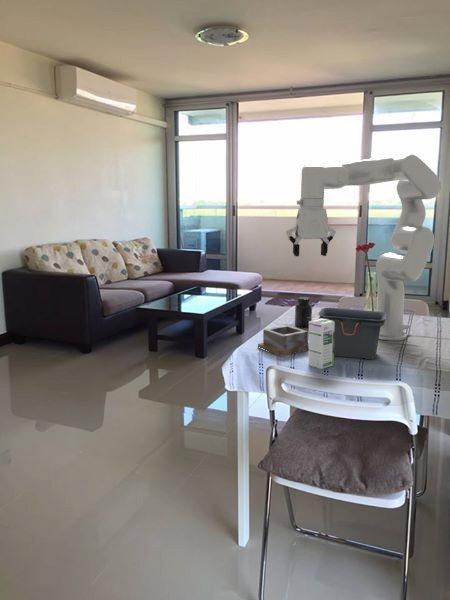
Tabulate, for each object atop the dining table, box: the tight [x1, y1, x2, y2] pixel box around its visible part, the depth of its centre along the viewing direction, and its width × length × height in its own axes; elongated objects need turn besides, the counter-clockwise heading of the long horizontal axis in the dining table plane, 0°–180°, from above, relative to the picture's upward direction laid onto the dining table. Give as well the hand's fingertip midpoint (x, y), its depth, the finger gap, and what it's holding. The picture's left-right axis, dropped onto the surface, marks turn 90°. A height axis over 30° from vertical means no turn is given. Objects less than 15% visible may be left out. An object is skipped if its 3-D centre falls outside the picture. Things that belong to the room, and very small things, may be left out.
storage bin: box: [317, 307, 386, 360], centre depth 165 cm, size 21×16×14 cm
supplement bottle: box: [294, 296, 313, 329], centre depth 203 cm, size 7×7×12 cm
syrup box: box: [308, 318, 335, 370], centre depth 155 cm, size 6×6×14 cm
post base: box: [257, 324, 309, 357], centre depth 174 cm, size 15×12×6 cm
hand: (310, 255), depth 168 cm, fingers open, 9 cm apart
